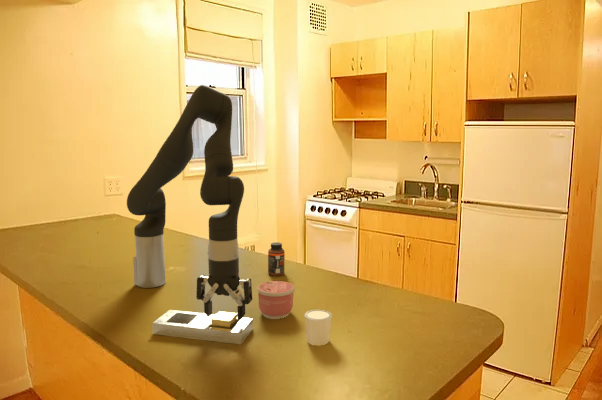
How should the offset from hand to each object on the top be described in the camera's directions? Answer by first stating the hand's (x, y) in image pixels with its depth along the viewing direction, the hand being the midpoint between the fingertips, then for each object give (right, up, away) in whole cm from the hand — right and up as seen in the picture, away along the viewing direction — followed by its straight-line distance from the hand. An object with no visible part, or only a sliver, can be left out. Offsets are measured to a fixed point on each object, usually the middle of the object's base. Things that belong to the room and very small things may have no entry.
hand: (224, 316), depth 119 cm
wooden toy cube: (0, -5, +1) cm, 5 cm away
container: (+12, -3, +14) cm, 19 cm away
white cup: (+24, -6, -3) cm, 25 cm away
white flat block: (-6, -4, +2) cm, 8 cm away
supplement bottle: (+11, +3, +50) cm, 51 cm away
